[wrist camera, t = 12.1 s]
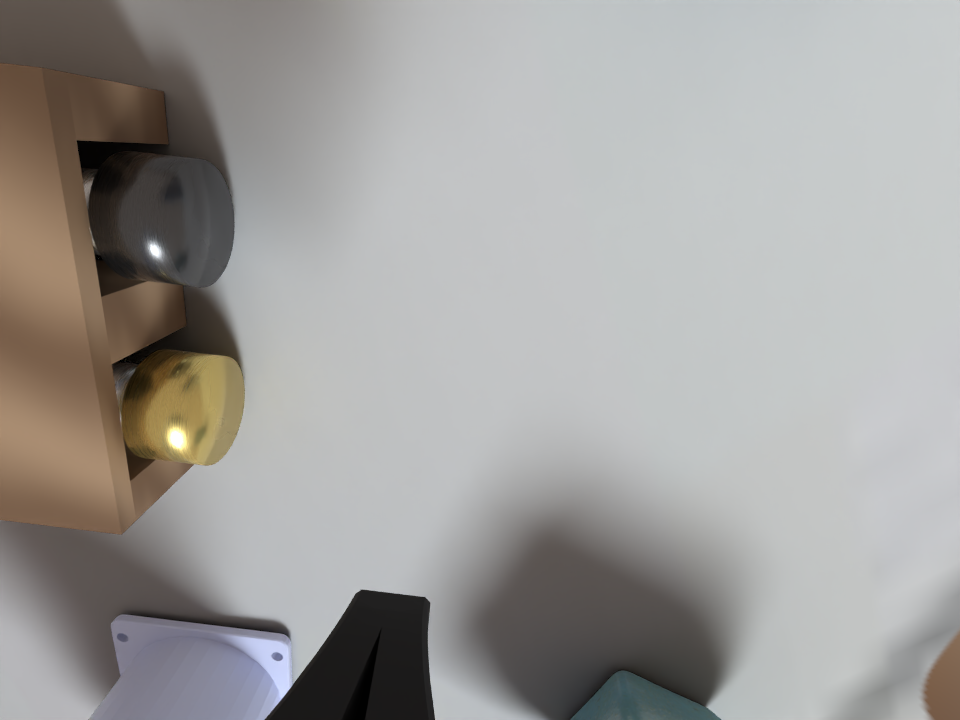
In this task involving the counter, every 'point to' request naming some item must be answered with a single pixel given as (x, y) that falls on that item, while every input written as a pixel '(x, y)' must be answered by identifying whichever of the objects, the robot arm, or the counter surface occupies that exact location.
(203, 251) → the plunger
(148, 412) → the plunger
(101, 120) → the catch block
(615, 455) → the counter surface
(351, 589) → the counter surface
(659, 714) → the flower pot
